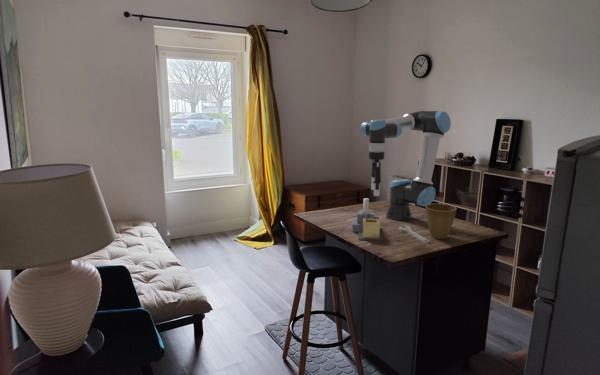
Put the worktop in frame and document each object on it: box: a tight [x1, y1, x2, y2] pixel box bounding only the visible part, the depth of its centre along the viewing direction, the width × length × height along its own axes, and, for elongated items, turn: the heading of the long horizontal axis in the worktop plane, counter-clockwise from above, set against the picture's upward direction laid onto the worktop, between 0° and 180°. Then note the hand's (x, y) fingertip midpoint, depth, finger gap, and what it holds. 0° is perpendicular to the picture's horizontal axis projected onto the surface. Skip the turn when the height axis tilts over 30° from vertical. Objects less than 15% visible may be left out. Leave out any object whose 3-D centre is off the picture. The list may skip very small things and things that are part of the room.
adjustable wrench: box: [398, 225, 430, 244], centre depth 202 cm, size 25×6×2 cm, turn 11°
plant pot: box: [424, 203, 458, 240], centre depth 198 cm, size 15×15×16 cm
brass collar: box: [362, 218, 381, 239], centre depth 197 cm, size 8×8×8 cm
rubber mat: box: [357, 232, 385, 242], centre depth 198 cm, size 12×11×1 cm
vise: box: [351, 197, 380, 233], centre depth 209 cm, size 14×11×17 cm
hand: (375, 192), depth 197 cm, fingers open, 13 cm apart
